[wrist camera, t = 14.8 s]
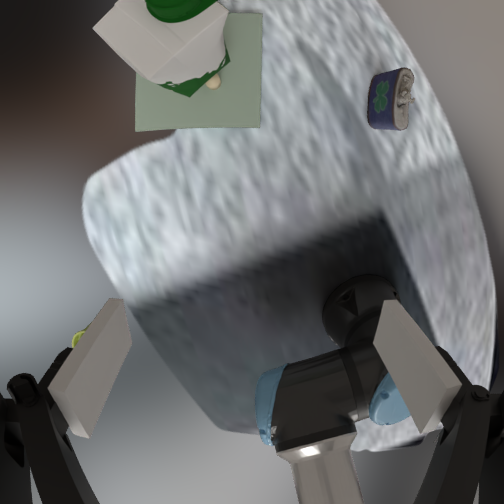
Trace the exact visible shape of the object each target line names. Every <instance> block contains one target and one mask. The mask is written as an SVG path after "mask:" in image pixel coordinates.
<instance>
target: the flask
mask: <svg viewBox="0 0 504 504" xmlns="http://www.w3.org/2000/svg"><path fill="white" fill-rule="evenodd" d="M413 82H414V75H413V73H412V71H411V70H410V69H408V68H400V69H396V70H392V71H389V72H385V73H381V74H378V75H375V76H374V77H373V79H372V81H371V85H370V87H369V88H370V89H369V93H368V111H367V114H368V115H367V118H368V123H369V125H370V126H371V127H372V128H374V129H390V130H399V131H401V130H404V129H406V128H407V126H408V108H409V107H408V106H409V102H410V103H411V104H412V103H413V102H414V100H415V98H413V99H411V98H410V97H411V94H410V92H411V87H412V84H413Z"/></svg>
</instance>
